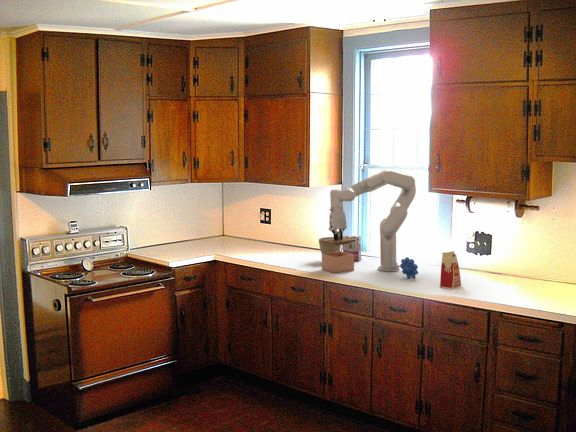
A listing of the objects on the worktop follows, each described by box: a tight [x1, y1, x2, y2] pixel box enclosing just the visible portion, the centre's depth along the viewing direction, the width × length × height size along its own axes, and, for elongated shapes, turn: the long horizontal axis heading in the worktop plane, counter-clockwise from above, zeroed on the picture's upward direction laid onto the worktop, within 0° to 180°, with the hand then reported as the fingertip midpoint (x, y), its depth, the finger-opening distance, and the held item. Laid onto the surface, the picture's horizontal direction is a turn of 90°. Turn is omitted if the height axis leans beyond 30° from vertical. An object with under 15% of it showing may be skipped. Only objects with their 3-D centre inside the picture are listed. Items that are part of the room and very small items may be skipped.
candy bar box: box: [342, 234, 362, 262], centre depth 428 cm, size 11×5×16 cm, turn 62°
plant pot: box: [318, 236, 342, 255], centre depth 421 cm, size 15×15×16 cm
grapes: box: [399, 256, 419, 279], centre depth 373 cm, size 12×7×12 cm, turn 49°
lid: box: [321, 230, 356, 246], centre depth 398 cm, size 15×15×7 cm
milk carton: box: [439, 250, 462, 291], centre depth 350 cm, size 9×9×20 cm
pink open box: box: [321, 250, 355, 275], centre depth 400 cm, size 14×14×10 cm
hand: (338, 239), depth 398 cm, fingers closed on lid, 3 cm apart
